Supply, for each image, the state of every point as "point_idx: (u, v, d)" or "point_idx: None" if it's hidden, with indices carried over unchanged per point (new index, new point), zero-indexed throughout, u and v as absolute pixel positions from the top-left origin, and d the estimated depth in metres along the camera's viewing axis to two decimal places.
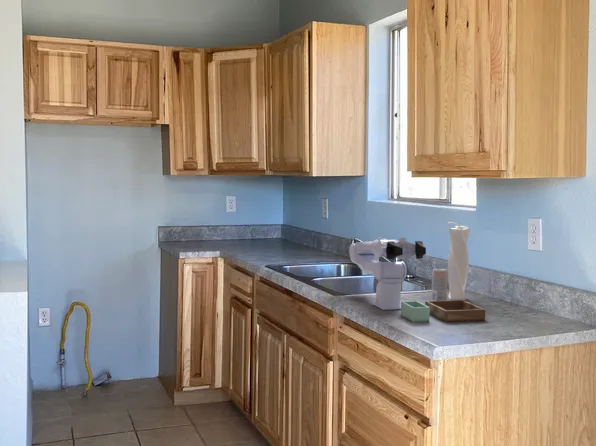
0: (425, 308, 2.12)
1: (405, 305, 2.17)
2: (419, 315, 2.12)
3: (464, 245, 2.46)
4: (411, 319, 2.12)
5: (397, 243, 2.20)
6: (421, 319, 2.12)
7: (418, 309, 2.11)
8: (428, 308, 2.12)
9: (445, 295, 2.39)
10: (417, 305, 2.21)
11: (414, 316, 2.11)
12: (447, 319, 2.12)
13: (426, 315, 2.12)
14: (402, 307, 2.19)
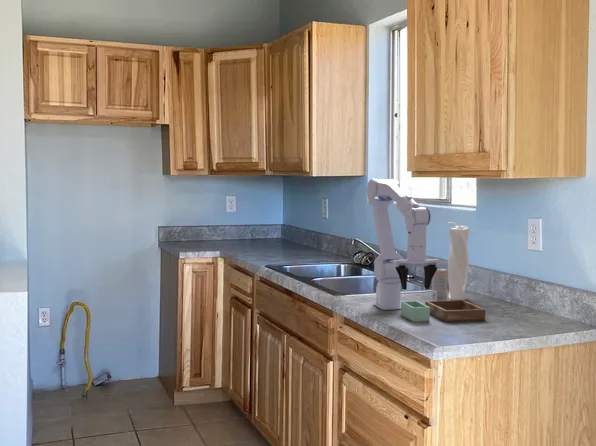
0: (425, 308, 2.12)
1: (405, 305, 2.17)
2: (419, 315, 2.12)
3: (464, 245, 2.46)
4: (411, 319, 2.12)
5: None
6: (421, 319, 2.12)
7: (418, 309, 2.11)
8: (428, 308, 2.12)
9: (445, 295, 2.39)
10: (417, 305, 2.21)
11: (414, 316, 2.11)
12: (447, 319, 2.12)
13: (426, 315, 2.12)
14: (402, 307, 2.19)
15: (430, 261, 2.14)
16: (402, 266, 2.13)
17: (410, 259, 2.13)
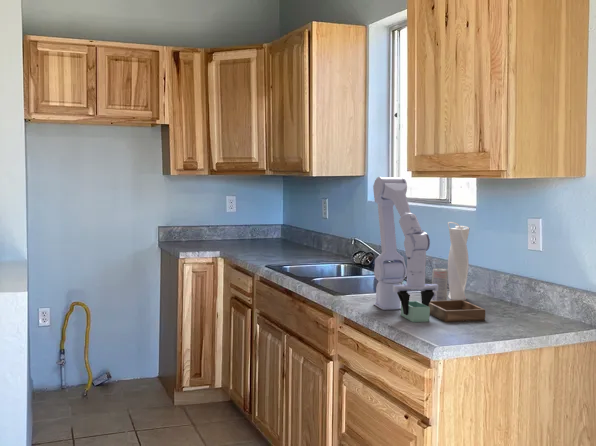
0: (425, 308, 2.12)
1: None
2: (419, 315, 2.12)
3: (464, 245, 2.46)
4: (411, 319, 2.12)
5: (412, 288, 2.13)
6: (421, 319, 2.12)
7: (418, 309, 2.11)
8: (428, 308, 2.12)
9: (445, 295, 2.39)
10: (417, 305, 2.21)
11: (414, 316, 2.11)
12: (447, 319, 2.12)
13: (426, 315, 2.12)
14: (402, 307, 2.19)
15: (429, 286, 2.15)
16: (401, 291, 2.14)
17: (409, 284, 2.14)
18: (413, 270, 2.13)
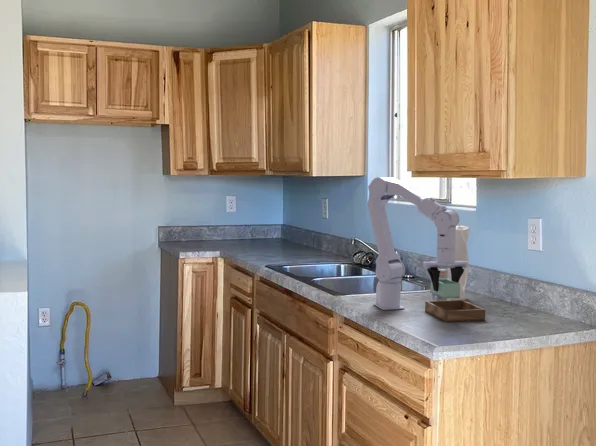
0: (456, 284, 2.14)
1: None
2: (450, 291, 2.14)
3: (464, 245, 2.46)
4: (441, 295, 2.15)
5: None
6: (451, 295, 2.14)
7: (449, 285, 2.14)
8: (458, 285, 2.14)
9: None
10: (446, 283, 2.23)
11: (445, 292, 2.14)
12: (447, 319, 2.12)
13: (456, 291, 2.14)
14: (432, 284, 2.22)
15: (459, 263, 2.17)
16: (432, 268, 2.16)
17: (440, 261, 2.16)
18: (448, 247, 2.15)
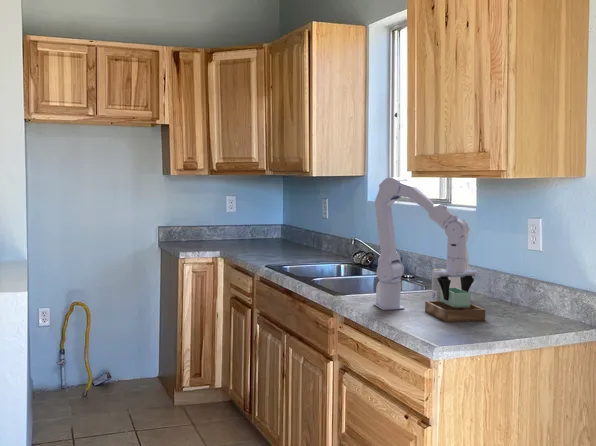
0: (466, 294, 2.16)
1: None
2: (461, 300, 2.15)
3: None
4: (452, 304, 2.16)
5: (453, 274, 2.17)
6: (462, 304, 2.16)
7: (459, 295, 2.15)
8: (469, 294, 2.16)
9: None
10: (456, 292, 2.24)
11: (455, 301, 2.15)
12: (447, 319, 2.12)
13: (467, 301, 2.16)
14: (442, 293, 2.23)
15: (469, 272, 2.19)
16: (442, 277, 2.18)
17: (450, 270, 2.18)
18: (460, 256, 2.17)
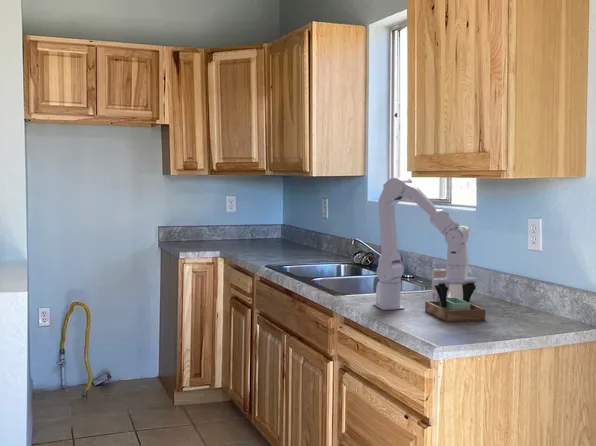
0: (466, 304, 2.16)
1: None
2: None
3: None
4: None
5: None
6: None
7: (459, 305, 2.15)
8: (468, 304, 2.16)
9: None
10: (456, 301, 2.25)
11: None
12: (447, 319, 2.12)
13: None
14: None
15: (469, 280, 2.19)
16: (442, 285, 2.18)
17: (450, 278, 2.18)
18: (459, 264, 2.17)
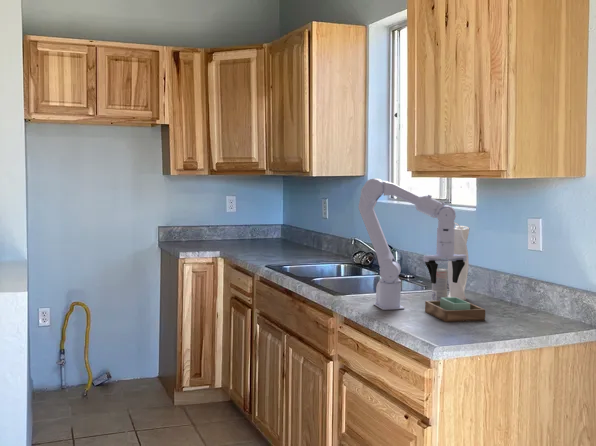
0: (466, 304, 2.16)
1: (445, 301, 2.21)
2: None
3: (464, 245, 2.46)
4: None
5: (442, 258, 2.25)
6: None
7: (459, 305, 2.15)
8: (468, 304, 2.16)
9: (445, 295, 2.39)
10: (456, 301, 2.25)
11: None
12: (447, 319, 2.12)
13: None
14: (442, 303, 2.23)
15: (458, 256, 2.26)
16: (432, 261, 2.25)
17: (439, 254, 2.25)
18: (451, 241, 2.24)
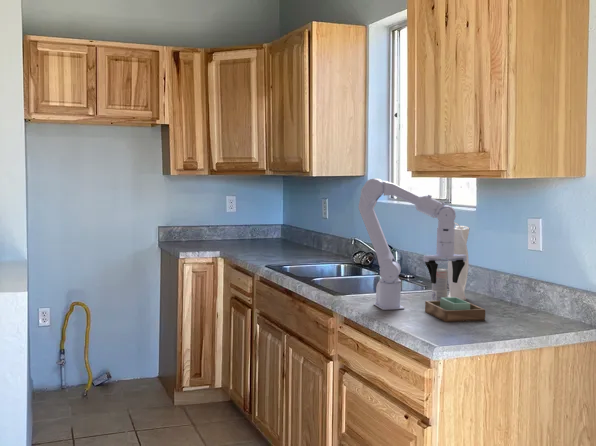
0: (466, 304, 2.16)
1: (445, 301, 2.21)
2: None
3: (464, 245, 2.46)
4: None
5: (442, 258, 2.25)
6: None
7: (459, 305, 2.15)
8: (468, 304, 2.16)
9: (445, 295, 2.39)
10: (456, 301, 2.25)
11: None
12: (447, 319, 2.12)
13: None
14: (442, 303, 2.23)
15: (458, 256, 2.26)
16: (432, 261, 2.25)
17: (439, 254, 2.25)
18: (451, 241, 2.24)
